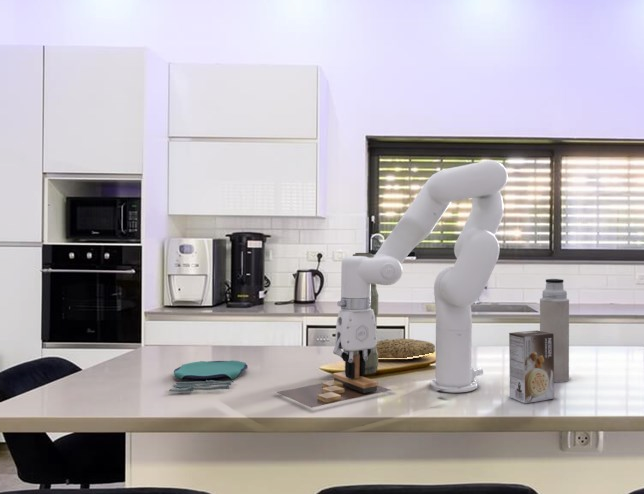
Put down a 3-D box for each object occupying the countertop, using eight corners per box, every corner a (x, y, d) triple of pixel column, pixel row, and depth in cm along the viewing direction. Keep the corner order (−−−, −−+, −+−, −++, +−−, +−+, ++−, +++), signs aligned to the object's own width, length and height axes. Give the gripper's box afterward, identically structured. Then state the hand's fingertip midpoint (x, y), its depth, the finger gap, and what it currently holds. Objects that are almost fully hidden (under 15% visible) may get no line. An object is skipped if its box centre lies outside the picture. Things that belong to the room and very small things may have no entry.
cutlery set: (252, 366, 170) (252, 358, 170) (236, 392, 140) (236, 383, 140) (183, 368, 167) (183, 360, 167) (152, 395, 137) (152, 386, 137)
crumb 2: (335, 389, 140) (335, 385, 140) (344, 392, 137) (344, 388, 137) (321, 392, 137) (321, 388, 137) (330, 395, 134) (330, 391, 134)
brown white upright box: (537, 392, 141) (537, 329, 141) (554, 399, 135) (555, 333, 136) (508, 397, 137) (508, 332, 137) (524, 404, 131) (525, 336, 131)
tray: (352, 380, 153) (352, 377, 153) (391, 393, 140) (391, 389, 140) (276, 395, 137) (276, 391, 137) (311, 411, 125) (311, 407, 125)
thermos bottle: (545, 373, 162) (545, 277, 162) (572, 377, 157) (572, 278, 157) (535, 379, 155) (535, 279, 155) (563, 383, 151) (564, 280, 151)
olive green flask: (344, 379, 154) (345, 253, 154) (349, 369, 166) (350, 252, 166) (376, 379, 154) (377, 253, 155) (379, 369, 166) (379, 252, 166)
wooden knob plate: (347, 379, 149) (347, 349, 149) (378, 390, 138) (378, 358, 138) (332, 381, 146) (333, 351, 146) (363, 393, 135) (363, 360, 135)
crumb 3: (331, 395, 134) (331, 391, 134) (340, 399, 131) (341, 395, 131) (317, 398, 131) (317, 394, 131) (326, 402, 128) (326, 398, 128)
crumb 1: (335, 383, 145) (335, 380, 145) (343, 387, 142) (343, 383, 142) (321, 386, 143) (321, 382, 143) (329, 389, 140) (329, 385, 140)
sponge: (371, 367, 175) (433, 355, 172) (367, 342, 176) (428, 330, 174) (380, 365, 187) (437, 355, 185) (376, 342, 189) (433, 331, 187)
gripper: (337, 308, 134) (336, 384, 133) (389, 303, 144) (389, 374, 144) (320, 305, 139) (319, 378, 139) (372, 301, 150) (371, 369, 150)
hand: (355, 376), depth 142 cm, fingers closed on wooden knob plate, 2 cm apart
